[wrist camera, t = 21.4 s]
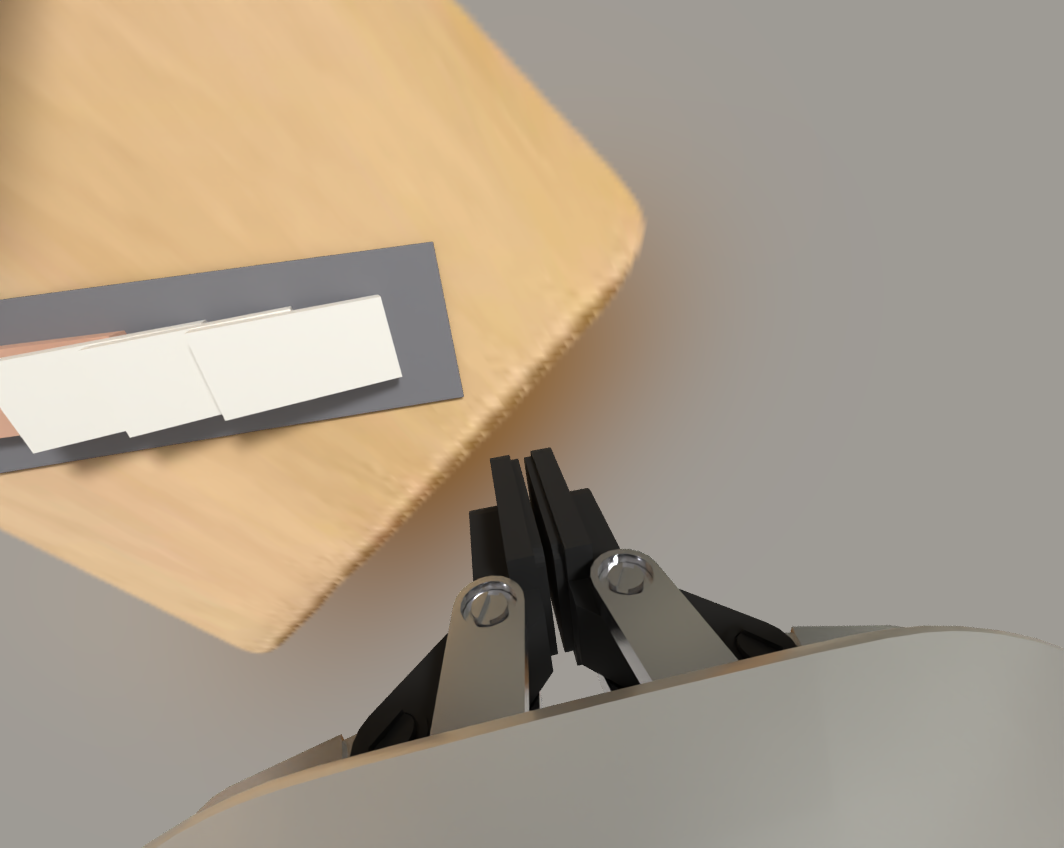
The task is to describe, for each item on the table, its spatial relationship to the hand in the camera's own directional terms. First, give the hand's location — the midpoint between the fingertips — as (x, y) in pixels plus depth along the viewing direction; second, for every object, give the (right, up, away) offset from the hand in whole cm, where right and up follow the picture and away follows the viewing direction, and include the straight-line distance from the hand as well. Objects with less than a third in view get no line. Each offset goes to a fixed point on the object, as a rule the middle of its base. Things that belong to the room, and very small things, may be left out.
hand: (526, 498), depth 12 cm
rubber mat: (-24, +7, +21) cm, 33 cm away
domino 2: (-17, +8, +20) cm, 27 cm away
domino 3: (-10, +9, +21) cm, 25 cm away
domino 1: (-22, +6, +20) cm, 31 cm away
